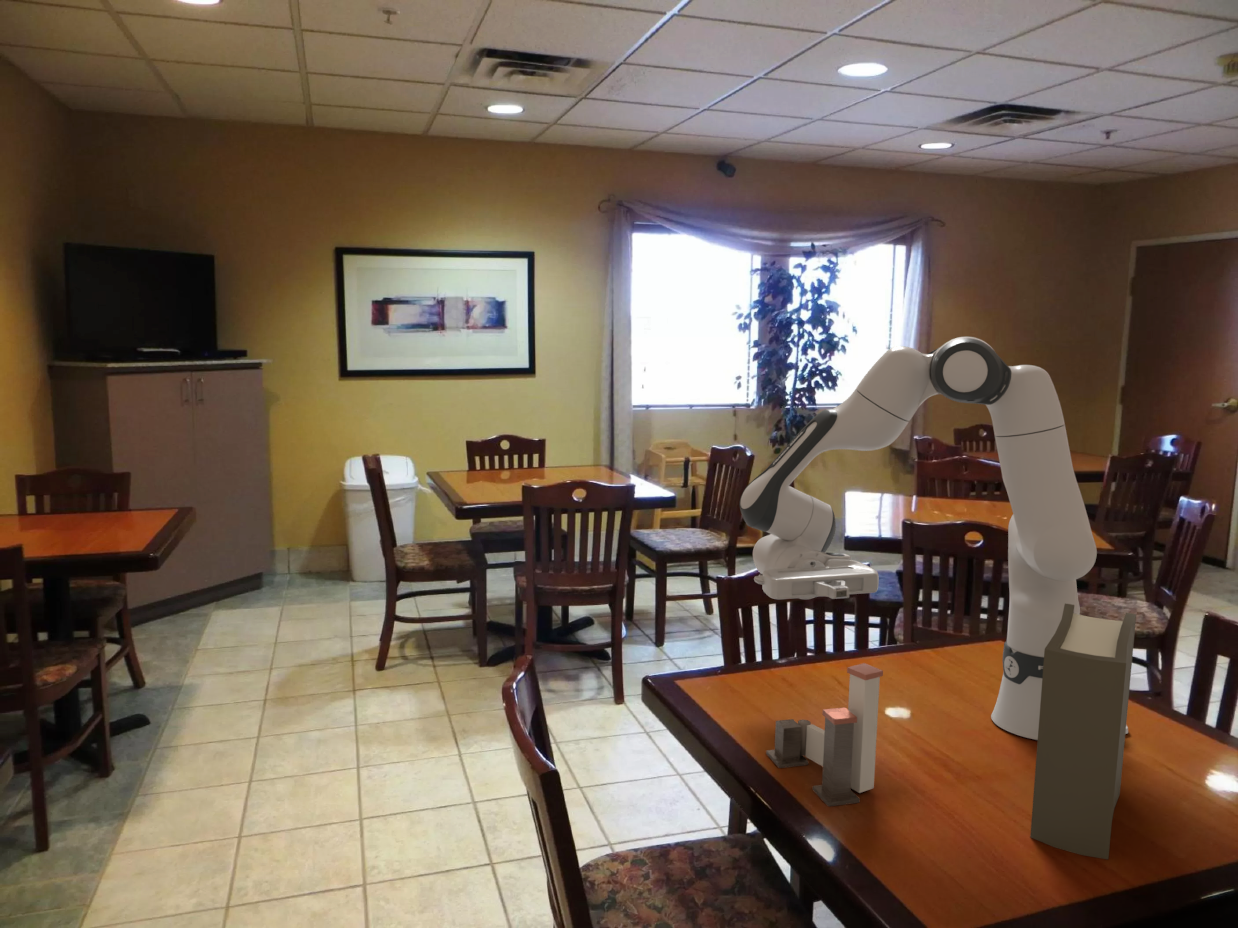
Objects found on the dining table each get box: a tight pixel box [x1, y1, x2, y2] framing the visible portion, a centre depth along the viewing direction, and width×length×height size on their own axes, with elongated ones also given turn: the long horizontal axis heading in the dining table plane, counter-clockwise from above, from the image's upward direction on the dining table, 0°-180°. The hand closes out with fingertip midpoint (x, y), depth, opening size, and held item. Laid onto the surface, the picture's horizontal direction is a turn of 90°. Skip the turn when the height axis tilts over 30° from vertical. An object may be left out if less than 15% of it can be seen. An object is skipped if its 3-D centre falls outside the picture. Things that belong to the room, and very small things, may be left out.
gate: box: [797, 662, 884, 794], centre depth 136 cm, size 15×4×18 cm, turn 32°
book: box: [1029, 604, 1137, 860], centre depth 124 cm, size 22×9×28 cm, turn 147°
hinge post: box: [765, 718, 809, 769], centre depth 142 cm, size 5×5×6 cm
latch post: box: [812, 707, 861, 807], centre depth 130 cm, size 5×5×13 cm
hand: (841, 593), depth 146 cm, fingers closed
